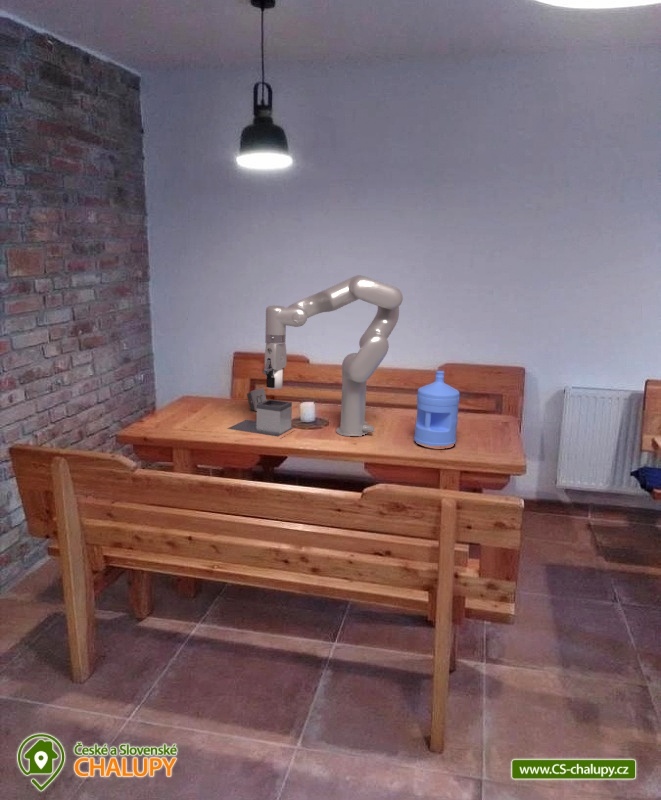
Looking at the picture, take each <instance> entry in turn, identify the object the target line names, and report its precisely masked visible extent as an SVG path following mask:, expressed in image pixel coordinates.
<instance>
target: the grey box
mask: <svg viewBox="0 0 661 800" xmlns="http://www.w3.org/2000/svg"><path fill="white" fill-rule="evenodd" d="M292 405H293V403H292V402H291V401H286V400H285V401H284V400H278V399H270V398H269V399H266V401H264V402H261V403H259V404H257V412H256V420H251V419H245V420H243V421H241V422H240V421H239V422H238V423H236V424H233V425H232V426H230V427H227V428H226V429H227V430H232V431H233V430H234V431H238V432H247V433H253V434H258V435H266V436H271V437H280V436H282V435H284V434H286V433H287V432H289V431H291V430H292V429H295V426H292V416H293V415H292V409H293V406H292ZM295 431H296V430H293V431H291V432H289V433H287V434H286V435H287V436H288V435H290V434H292V433H293V432H295ZM286 435H284V436H282V437H281V439H283V438H284V437H286Z"/></svg>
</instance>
